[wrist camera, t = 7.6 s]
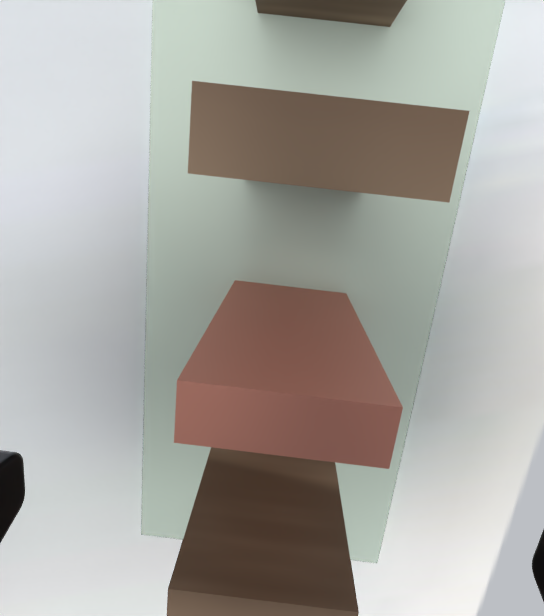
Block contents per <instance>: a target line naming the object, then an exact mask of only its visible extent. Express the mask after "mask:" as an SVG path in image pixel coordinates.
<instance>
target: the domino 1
mask: <svg viewBox="0 0 544 616" xmlns="http://www.w3.org/2000/svg"><path fill="white" fill-rule="evenodd" d="M406 1H407V0H255V2H256V7H257V12H258V13H263V14H272V15H282V16H291V17H300V18H310V19H319V20H328V21H338V22H347V23H357V24H366V25H375V26H385V27H390V26H391V25H392V23H393V22H394V20H395V19H396V17H397V15H398V14H399V12H400V11H401V9H402V7H403V6H404V4H405V3H406Z"/></svg>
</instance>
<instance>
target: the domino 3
mask: <svg viewBox="0 0 544 616" xmlns="http://www.w3.org/2000/svg"><path fill="white" fill-rule="evenodd" d="M358 613H359V612H358V605H357V599H356V593H355V586H354V580H353V573H352V567H351V561H350V554H349V548H348V541H347V535H346V529H345V522H344V516H343V509H342V503H341V497H340V490H339V484H338V477H337V471H336V465H335V462H328V461H320V460H311V459H303V458H295V457H287V456H279V455H270V454H262V453H254V452H246V451H238V450H229V449H221V448H213V447H211V449H210V452H209V456H208V459H207V462H206V466H205V469H204V472H203V476H202V479H201V482H200V485H199V489H198V492H197V495H196V499H195V502H194V505H193V508H192V512H191V515H190V518H189V522H188V525H187V528H186V532H185V535H184V538H183V541H182V545H181V548H180V551H179V555H178V558H177V561H176V564H175V568H174V571H173V574H172V578H171V581H170V584H169V588H168V601H167V616H358Z"/></svg>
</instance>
